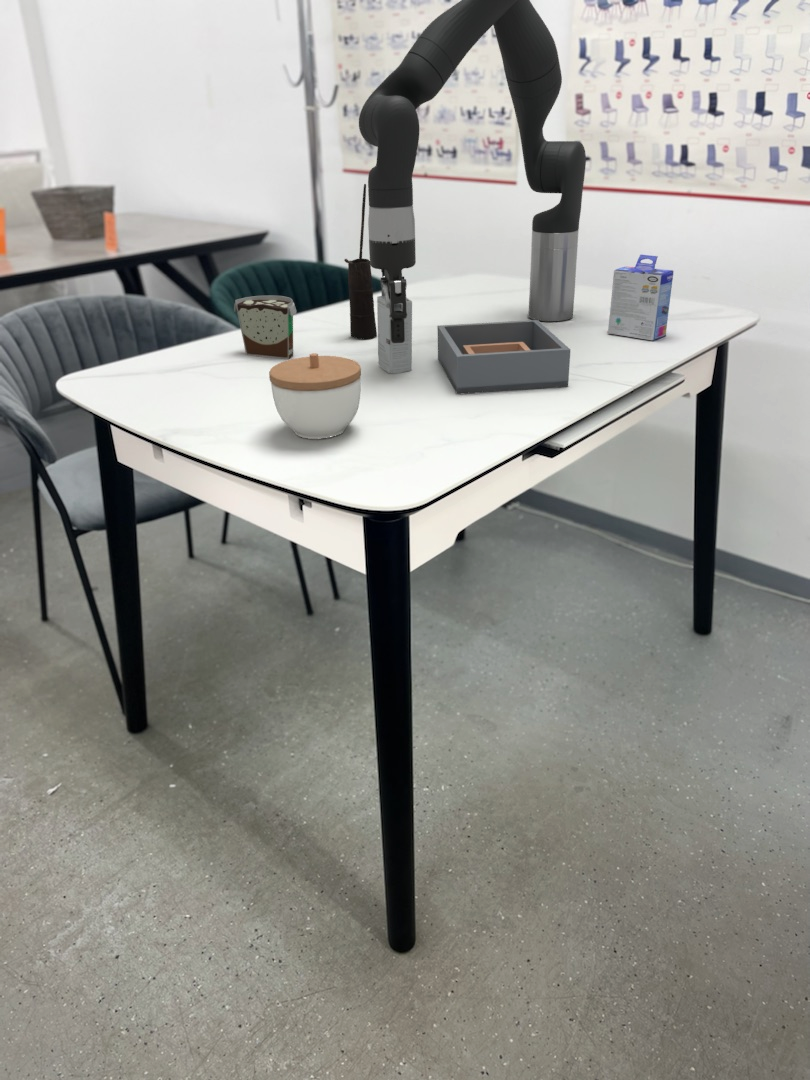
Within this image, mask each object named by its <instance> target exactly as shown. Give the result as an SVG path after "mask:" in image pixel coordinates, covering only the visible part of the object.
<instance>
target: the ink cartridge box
mask: <svg viewBox="0 0 810 1080" xmlns="http://www.w3.org/2000/svg"><path fill="white" fill-rule="evenodd" d="M658 257H659V256H658V255H648V254H639V257H638V258H637V261H636V264H635V266H623V267H619V268H616V269H615V270H613V278H612V290H611V299H610V300H611V301H610V308H609V309H610V310H609V316H608V317H609V320H608V328H607V329H608V330H607V334H610V335H616V336H622V337H628V338H635V339H640V340H648V341H655V340H658V339H662V338H664V337H666V336H667V328H668V320H669V313H670V312H669V311H670V302H671V296H672V295H671V294H672V288H673V279H674V270H672V269H664V268H663V269H661V268H656V264H657V260H658ZM643 260H650V261H652V262H651V263H646V262H642V261H643Z"/></svg>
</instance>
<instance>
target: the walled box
mask: <svg viewBox="0 0 810 1080" xmlns="http://www.w3.org/2000/svg"><path fill="white" fill-rule="evenodd" d="M436 327H437V360H438V362H439V364H440V365H441V367H442V369H443V372H444V373H445V375H446V376H447V378H448V380H449V382H450V384H451V385H452V388H453V390H454V391H455V393H456V394H457V395H459V394H460V395H462V394H461V393H464V394H475V392H480V393H490V392H491V393H492V392H507V391H521V390H522V391H524V390H525V391H526V390H536V389H537V390H538V389H540V390H541V389H550V388H551V389H552V388H554V389H555V388H566V387H567V388H568V387H569V376H570V362H571V349H570V348H569V346H567V345H566V344H565V343H564V342H563V341H562V340H560V339H559V338H558V337H557V336H556V335H555V334H554V333H553V332H552V331H550V330H549V328H547V327H546V325H544V324H543V323H542V322H540V320H535V319H531V320H527V319H526V320H511V321H510V320H509V321H494V322H480V323H479V322H477V323H459V324H443V325H437V326H436Z"/></svg>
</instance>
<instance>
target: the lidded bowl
mask: <svg viewBox="0 0 810 1080" xmlns="http://www.w3.org/2000/svg"><path fill="white" fill-rule="evenodd" d="M268 375H269V381H270V384H271V392H272V397H273V401H274V406H275V409H276V411H277V413H278V415H279V417H280V419H281V420H282V421H283V423H284V424H285V425H286V426H287V427H288V428H289V429H290V430H292V431H293V432H294V434H295V435H296V436H297V435H298V437H299V438H301V437H302V439H305V438H308V439H307V440H319V439H318V438H326V437H330V436H335V435H338V434H340V433H342V432H343V431H344V430H345V431H346V427H348V426H349V425H350V424H351V423H352V421H353V420H354V418H355V416H356V414H357V413H358V409H359V405H360V401H361V391H362V390H361V375H362V367H361V365H360V364H359V363H358V362H357V361H356V360H354V359H351V358H347V357H342V356H336V355H335V356H334V355H319V354H318V353H316V352H315V353H314V352H313V353H309V356H302V357H297V358H290V359H286V360H284V361H282V362H279V363H277V364H275V365H273V366H272V367H271V368H270V370H269V373H268ZM345 431H344V432H345ZM344 432H343V433H344ZM343 433H342V434H343ZM340 435H341V434H340ZM338 436H339V435H338ZM335 437H336V436H335Z"/></svg>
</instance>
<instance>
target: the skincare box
mask: <svg viewBox="0 0 810 1080" xmlns="http://www.w3.org/2000/svg"><path fill="white" fill-rule="evenodd" d="M376 299H377V300H376V302H377V303H376V304H377V305H376V306H377V309H376V310H377V359H378V361H377V363H378V366H379V367H380V368H381V369H383V370H384V371H385V372H386V373H388V374H400V373H401V374H402V373H406V372H411V371H412V367H413V365H412V363H413V361H412V360H413V359H412V358H413V354H412V353H413V300H411V299H409V298H407V304H406V313H407V317H406V318H405V320H404V332H405V341H404V342H403V343H392V341H391V323H390V318H389V315H390V314H389V309H388V308H387V307H386V304H385V296H382V295H379V296H377V297H376ZM394 311H401V308H400V307H397V308H394Z"/></svg>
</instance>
